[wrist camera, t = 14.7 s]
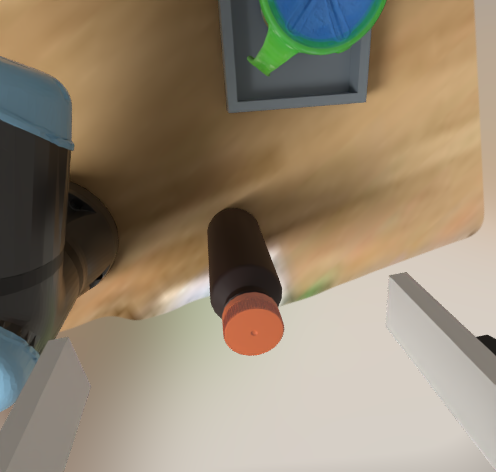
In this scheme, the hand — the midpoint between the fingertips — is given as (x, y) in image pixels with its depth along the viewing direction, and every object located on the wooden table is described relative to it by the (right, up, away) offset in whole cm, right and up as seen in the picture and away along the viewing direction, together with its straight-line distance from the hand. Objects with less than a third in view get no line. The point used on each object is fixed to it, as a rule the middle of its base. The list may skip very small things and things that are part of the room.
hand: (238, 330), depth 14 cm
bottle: (-2, +5, +32) cm, 32 cm away
